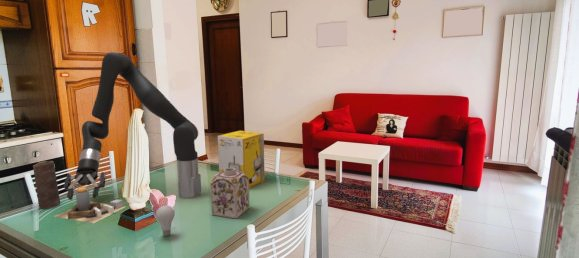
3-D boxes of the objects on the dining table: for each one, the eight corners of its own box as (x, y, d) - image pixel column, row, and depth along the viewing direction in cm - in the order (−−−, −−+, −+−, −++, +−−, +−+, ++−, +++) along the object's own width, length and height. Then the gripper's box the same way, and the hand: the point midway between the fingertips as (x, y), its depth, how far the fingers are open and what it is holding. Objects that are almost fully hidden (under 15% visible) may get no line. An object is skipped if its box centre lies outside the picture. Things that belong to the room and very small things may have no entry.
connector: (93, 210, 138) (90, 185, 136) (87, 215, 133) (84, 189, 132) (82, 210, 138) (79, 186, 136) (76, 215, 133) (72, 190, 131)
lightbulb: (160, 231, 122) (158, 202, 120) (177, 231, 122) (175, 202, 120) (155, 240, 116) (152, 210, 114) (173, 239, 116) (171, 209, 114)
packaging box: (264, 180, 176) (263, 133, 172) (244, 190, 163) (242, 139, 158) (240, 175, 185) (239, 130, 180) (219, 184, 171) (217, 135, 167)
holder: (100, 207, 141) (100, 202, 140) (93, 216, 132) (92, 211, 132) (77, 209, 139) (76, 204, 138) (68, 218, 130) (67, 213, 130)
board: (126, 208, 142) (126, 206, 142) (94, 225, 127) (93, 223, 127) (89, 203, 148) (89, 201, 148) (54, 218, 133) (53, 216, 133)
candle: (49, 212, 139) (42, 165, 135) (34, 210, 140) (27, 164, 137) (64, 204, 146) (59, 160, 143) (50, 203, 148) (44, 159, 144)
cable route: (126, 206, 142) (126, 200, 141) (99, 220, 129) (98, 214, 128) (112, 204, 144) (112, 198, 143) (84, 218, 131) (84, 211, 130)
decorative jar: (250, 207, 142) (249, 166, 139) (237, 219, 131) (235, 174, 128) (225, 204, 146) (223, 163, 143) (210, 215, 135) (208, 171, 132)
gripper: (66, 158, 138) (58, 195, 129) (105, 156, 141) (99, 192, 132) (73, 167, 144) (65, 203, 135) (110, 165, 147) (104, 200, 138)
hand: (82, 198), depth 133 cm, fingers open, 8 cm apart
